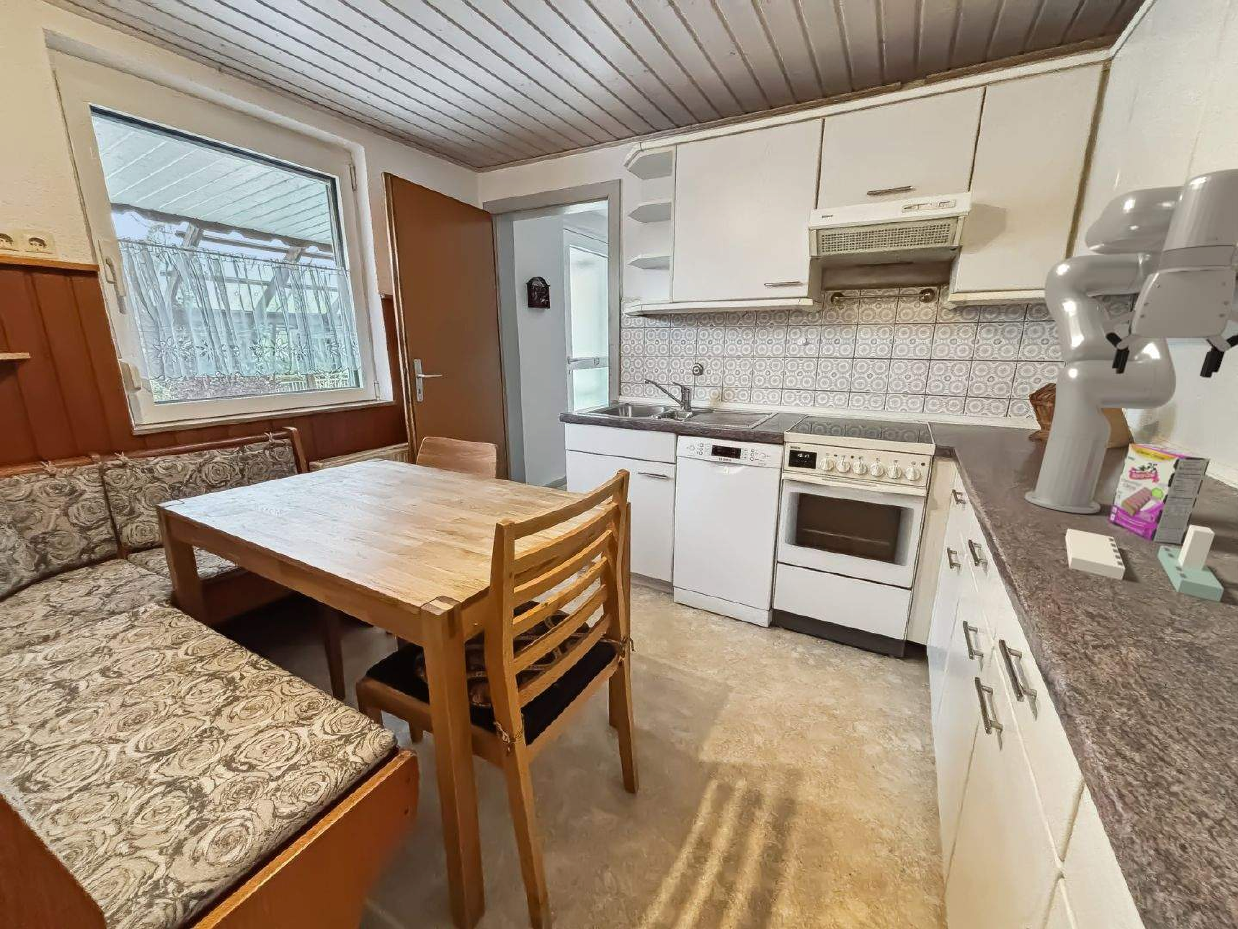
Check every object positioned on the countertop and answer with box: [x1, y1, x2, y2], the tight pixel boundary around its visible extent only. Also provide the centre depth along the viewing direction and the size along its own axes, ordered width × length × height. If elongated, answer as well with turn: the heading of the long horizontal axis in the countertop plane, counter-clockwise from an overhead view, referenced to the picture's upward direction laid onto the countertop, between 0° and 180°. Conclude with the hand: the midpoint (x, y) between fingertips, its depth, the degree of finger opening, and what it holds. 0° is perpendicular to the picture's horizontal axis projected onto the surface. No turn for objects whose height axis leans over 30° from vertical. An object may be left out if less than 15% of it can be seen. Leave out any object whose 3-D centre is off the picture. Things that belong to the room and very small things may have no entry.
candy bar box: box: [1107, 442, 1211, 545], centre depth 91 cm, size 11×5×16 cm, turn 168°
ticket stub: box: [1157, 524, 1225, 603], centre depth 75 cm, size 16×4×8 cm, turn 140°
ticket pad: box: [1065, 528, 1126, 581], centre depth 82 cm, size 16×6×2 cm, turn 140°
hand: (1160, 375), depth 79 cm, fingers open, 9 cm apart
